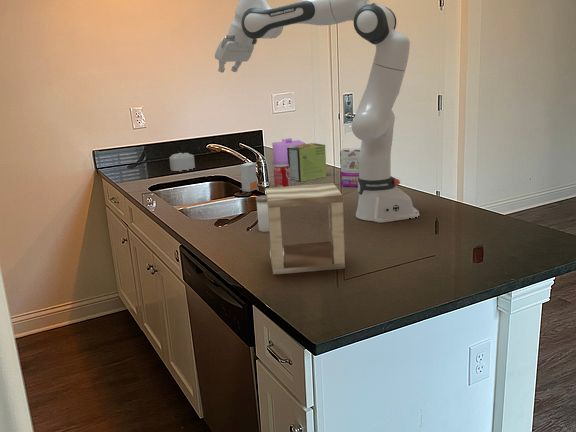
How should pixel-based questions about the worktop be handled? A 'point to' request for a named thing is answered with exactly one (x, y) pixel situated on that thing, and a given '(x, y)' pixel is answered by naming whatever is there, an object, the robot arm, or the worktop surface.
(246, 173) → the skincare box
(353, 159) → the candy bar box
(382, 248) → the worktop surface
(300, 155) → the protein box
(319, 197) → the shelf
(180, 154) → the lumpy-topped squat cylinder
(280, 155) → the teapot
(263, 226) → the jar
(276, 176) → the soda can
